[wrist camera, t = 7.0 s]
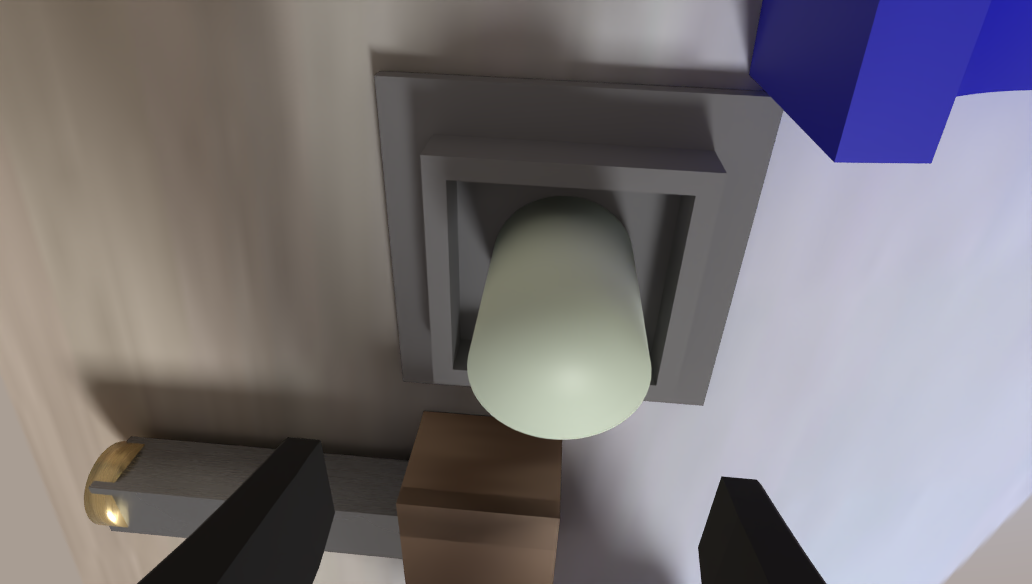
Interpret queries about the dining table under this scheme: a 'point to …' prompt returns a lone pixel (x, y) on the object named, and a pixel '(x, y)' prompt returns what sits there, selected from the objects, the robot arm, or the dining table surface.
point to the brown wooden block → (479, 503)
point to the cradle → (579, 173)
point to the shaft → (218, 474)
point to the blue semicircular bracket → (887, 68)
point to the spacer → (561, 323)
